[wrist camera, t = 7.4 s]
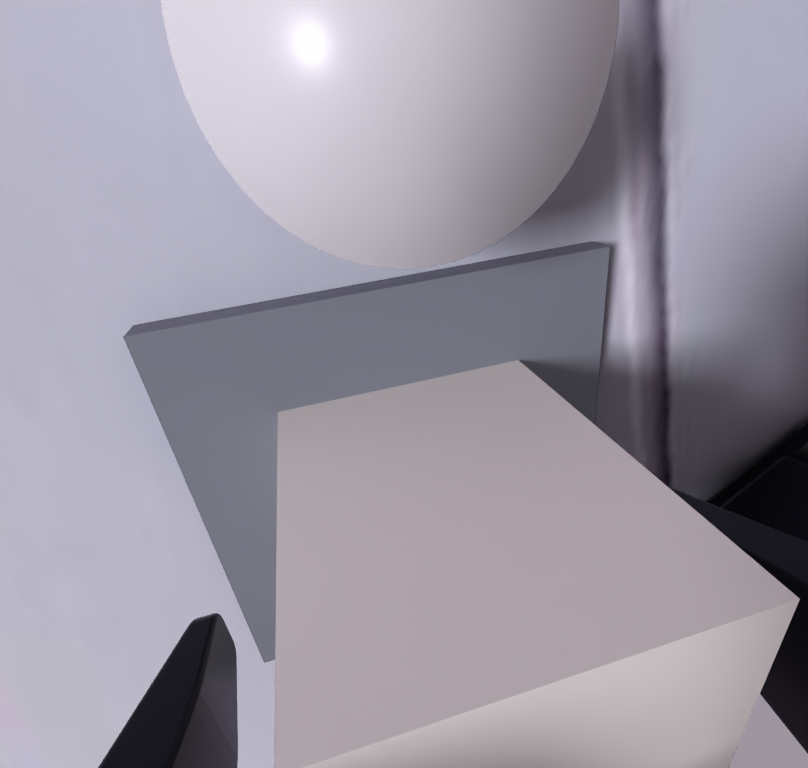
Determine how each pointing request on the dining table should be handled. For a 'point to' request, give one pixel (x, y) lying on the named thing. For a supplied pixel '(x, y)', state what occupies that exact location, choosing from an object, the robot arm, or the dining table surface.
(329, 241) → the white ball
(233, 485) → the slate mat
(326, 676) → the cream block
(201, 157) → the dining table surface
